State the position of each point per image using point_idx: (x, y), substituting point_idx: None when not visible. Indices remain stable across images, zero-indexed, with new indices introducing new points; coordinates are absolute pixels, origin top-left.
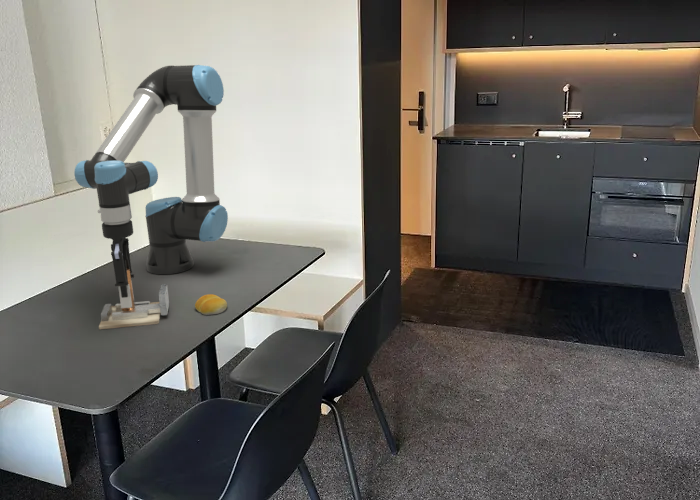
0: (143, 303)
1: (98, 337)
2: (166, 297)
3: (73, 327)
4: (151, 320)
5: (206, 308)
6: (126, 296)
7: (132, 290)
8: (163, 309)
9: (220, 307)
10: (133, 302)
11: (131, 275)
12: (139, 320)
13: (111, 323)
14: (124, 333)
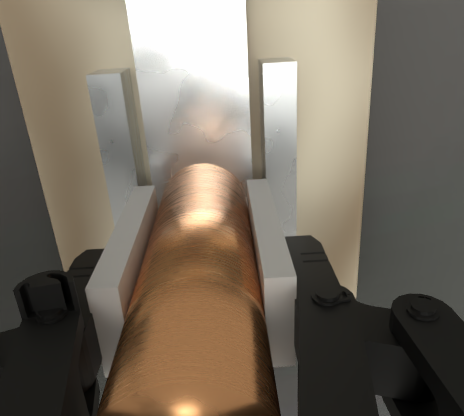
0: (127, 116)
1: (448, 277)
2: None
3: (292, 396)
4: (354, 19)
5: None
6: (315, 244)
7: (197, 221)
8: None
9: None
10: (213, 181)
11: (46, 307)
12: (332, 104)
13: (331, 254)
14: (448, 163)
